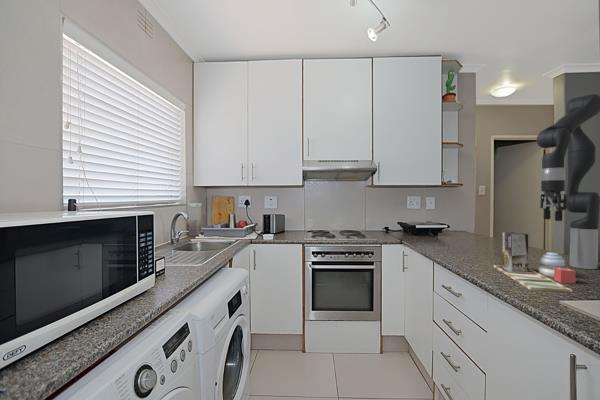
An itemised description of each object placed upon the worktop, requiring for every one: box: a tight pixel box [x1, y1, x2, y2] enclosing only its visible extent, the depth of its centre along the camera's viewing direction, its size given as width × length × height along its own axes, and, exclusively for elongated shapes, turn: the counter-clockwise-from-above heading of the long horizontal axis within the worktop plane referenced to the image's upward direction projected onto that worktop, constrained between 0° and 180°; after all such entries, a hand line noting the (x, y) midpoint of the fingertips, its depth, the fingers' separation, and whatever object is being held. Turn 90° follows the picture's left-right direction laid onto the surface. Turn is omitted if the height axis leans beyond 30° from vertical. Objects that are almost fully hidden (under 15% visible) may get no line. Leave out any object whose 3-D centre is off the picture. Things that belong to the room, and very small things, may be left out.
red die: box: [553, 267, 577, 284], centre depth 118 cm, size 4×4×5 cm
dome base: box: [537, 265, 560, 278], centre depth 129 cm, size 9×9×2 cm
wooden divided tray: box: [493, 264, 573, 293], centre depth 124 cm, size 35×12×1 cm, turn 166°
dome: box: [540, 251, 566, 267], centre depth 129 cm, size 8×8×5 cm
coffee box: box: [502, 231, 529, 272], centre depth 135 cm, size 9×6×16 cm
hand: (552, 220), depth 128 cm, fingers open, 8 cm apart
